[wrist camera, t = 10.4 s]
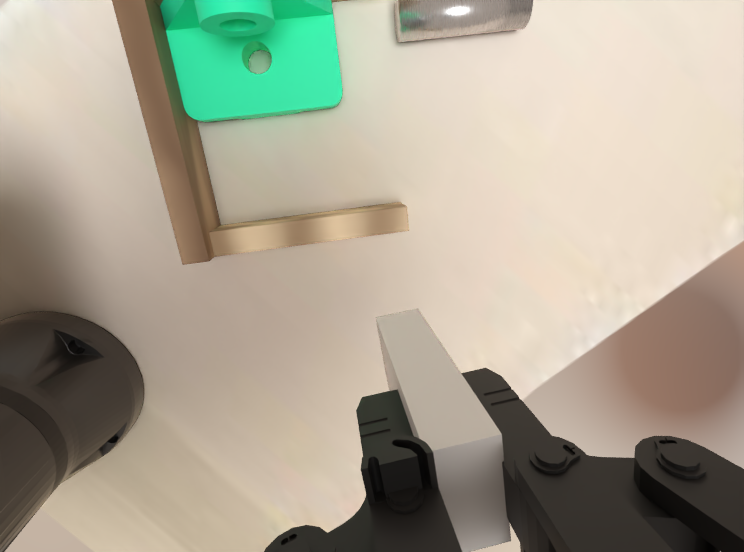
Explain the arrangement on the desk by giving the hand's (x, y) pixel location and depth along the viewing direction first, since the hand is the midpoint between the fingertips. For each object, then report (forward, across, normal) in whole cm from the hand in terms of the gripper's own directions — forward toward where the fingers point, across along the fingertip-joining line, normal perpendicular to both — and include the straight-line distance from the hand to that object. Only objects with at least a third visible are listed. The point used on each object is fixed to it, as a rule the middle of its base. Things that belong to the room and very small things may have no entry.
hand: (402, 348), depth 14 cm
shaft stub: (+20, +12, +15) cm, 28 cm away
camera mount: (+24, -4, +15) cm, 28 cm away
